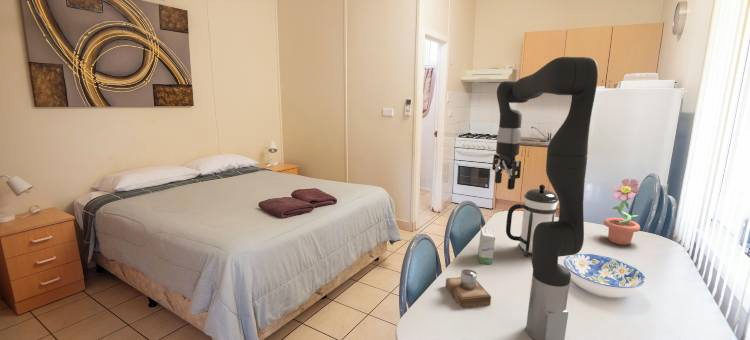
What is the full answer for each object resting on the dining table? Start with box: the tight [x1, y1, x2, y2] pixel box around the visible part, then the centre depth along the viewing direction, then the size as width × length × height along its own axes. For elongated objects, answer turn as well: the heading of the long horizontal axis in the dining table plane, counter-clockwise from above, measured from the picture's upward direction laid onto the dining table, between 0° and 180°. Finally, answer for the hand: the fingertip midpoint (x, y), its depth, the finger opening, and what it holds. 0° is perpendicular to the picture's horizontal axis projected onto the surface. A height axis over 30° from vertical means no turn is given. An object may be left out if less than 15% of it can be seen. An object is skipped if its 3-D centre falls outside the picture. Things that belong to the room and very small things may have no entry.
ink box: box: [477, 228, 496, 265], centre depth 145 cm, size 9×5×12 cm, turn 168°
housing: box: [460, 268, 478, 291], centre depth 119 cm, size 5×5×5 cm
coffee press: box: [505, 184, 559, 257], centre depth 151 cm, size 17×16×30 cm
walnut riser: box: [445, 276, 492, 309], centre depth 120 cm, size 13×10×3 cm
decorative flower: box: [603, 178, 641, 246], centre depth 164 cm, size 15×14×30 cm
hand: (504, 186), depth 128 cm, fingers open, 8 cm apart
